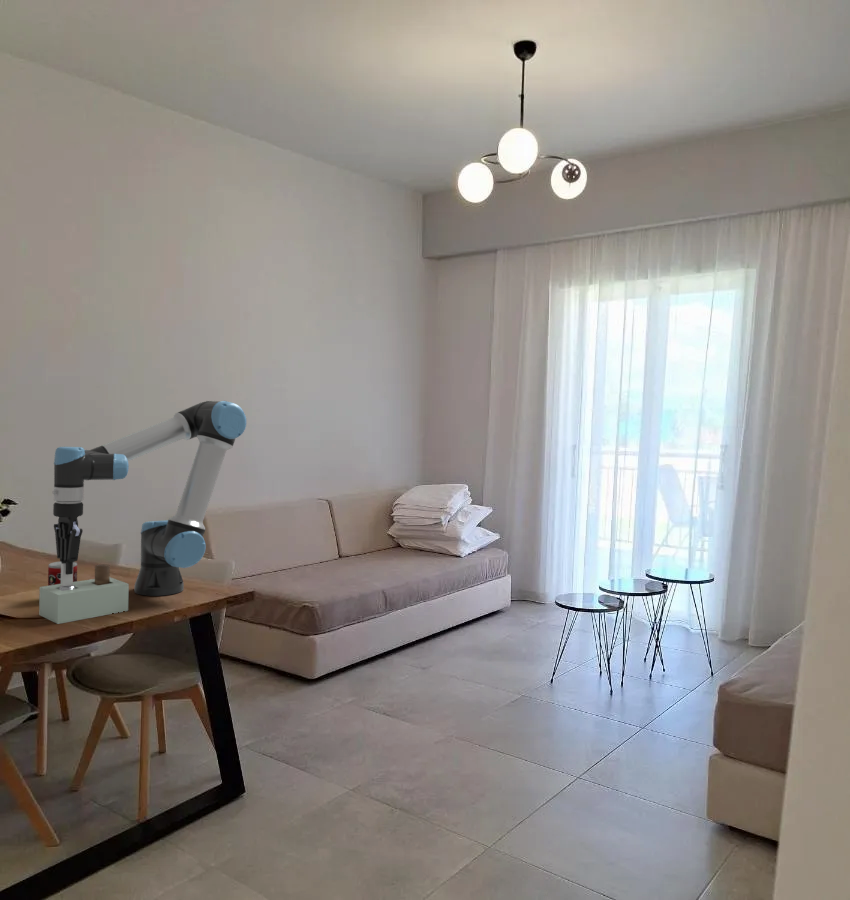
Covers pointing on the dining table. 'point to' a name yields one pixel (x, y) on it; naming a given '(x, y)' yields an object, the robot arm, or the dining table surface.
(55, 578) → the canned food
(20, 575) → the dining table surface
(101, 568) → the walnut peg
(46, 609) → the socket board
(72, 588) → the metal peg
